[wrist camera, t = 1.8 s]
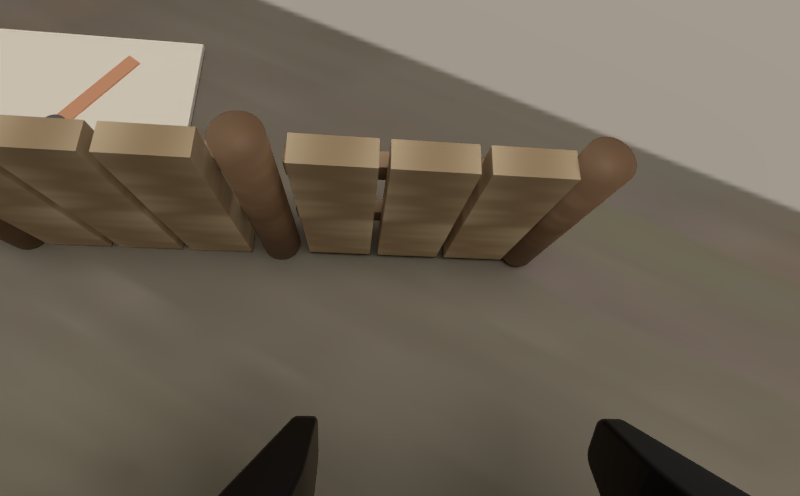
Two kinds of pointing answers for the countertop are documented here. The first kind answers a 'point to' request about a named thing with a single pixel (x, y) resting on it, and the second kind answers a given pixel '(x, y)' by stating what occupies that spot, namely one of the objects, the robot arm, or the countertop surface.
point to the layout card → (98, 78)
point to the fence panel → (447, 194)
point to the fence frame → (142, 185)
